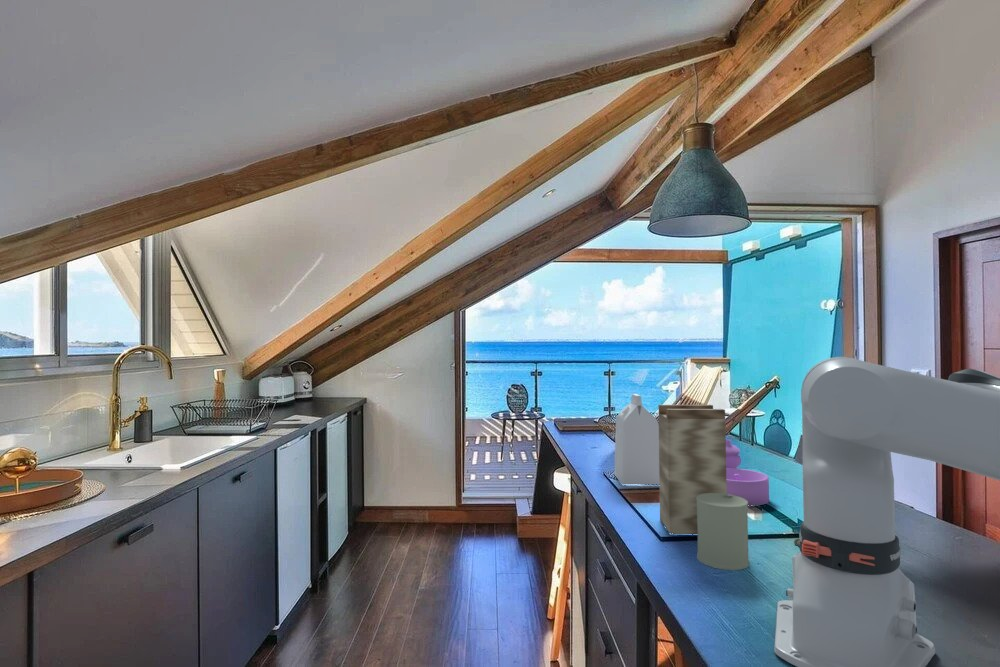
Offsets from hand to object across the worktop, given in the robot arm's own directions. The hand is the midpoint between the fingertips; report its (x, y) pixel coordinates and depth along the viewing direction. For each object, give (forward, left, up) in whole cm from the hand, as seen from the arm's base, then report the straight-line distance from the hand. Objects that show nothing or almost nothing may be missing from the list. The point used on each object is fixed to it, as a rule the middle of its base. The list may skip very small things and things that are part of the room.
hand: (830, 374), depth 117 cm
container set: (+18, +26, -35) cm, 47 cm away
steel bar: (0, -1, -10) cm, 10 cm away
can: (-31, +14, -35) cm, 49 cm away
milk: (+14, +53, -35) cm, 65 cm away
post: (-17, +25, -34) cm, 46 cm away
